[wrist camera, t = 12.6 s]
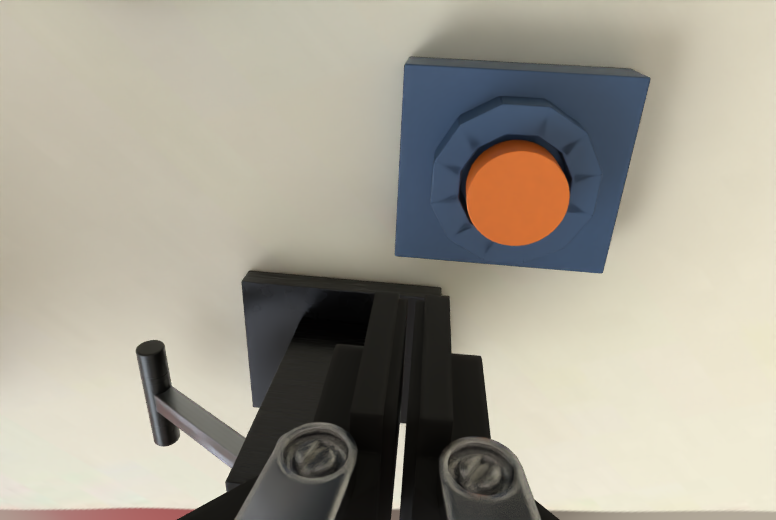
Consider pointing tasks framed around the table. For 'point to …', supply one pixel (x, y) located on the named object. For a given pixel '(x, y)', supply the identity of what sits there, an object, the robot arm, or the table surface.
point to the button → (516, 193)
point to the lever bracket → (303, 350)
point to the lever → (181, 409)
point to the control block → (514, 122)
